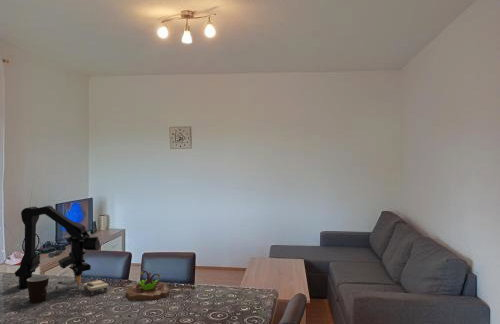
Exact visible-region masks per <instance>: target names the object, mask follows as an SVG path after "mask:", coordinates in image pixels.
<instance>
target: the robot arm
mask: <svg viewBox="0 0 500 324" xmlns="http://www.w3.org/2000/svg"><path fill="white" fill-rule="evenodd" d="M42 215H46V216H47V217H48V218H50V219H51V220H52V221H54V222H56V224H59V225H60V226H61V227H63V229H64V230H65V232H66V233H67V234H68V235H69V236H70V237H69V238H68V239H66V242H68V243H70V252H69V253H68V255H67V256H65V257H63V258H61V259H59V260H58V261H57V263H58V265H59V267H60V268H61V269H62V270H63V269H66V268H67V267H69V269H70V270H72V272H73V275H74V280H76V276H77V275H81V276H82V273H83V272H86V271H90V270H92V268H91V267H92V266H91V264H89V263H88V262H86V260H85V259H84V258H85V257H84V256H85V254H86V251H91V252H92V251H93V252H95V251H99V249H100V247H101V242H100V239H99V236H90V234H89V233H88V231H87V230H86V226H85V225H84V224H82V223H79V222H77V221H73V220H72V219H70V218H68V217H67V216H65V215H64V214H63V213H62V212H60V211H58V210H57V209H56V208H54V207H53V206H51V205H46V206H42V207H37V206H29V207H26V208H25V207H24V208H23V209H22V210H21V212H20V216H21V222H22V223H23V225H24V249H23V251H24V252H23V253H24V254H23V256H22V258H21V260H20V264H19V268H18V269H17V270H15V272H14V276H15V277H16V278H17V277H18V284H16V287H17V288H18V289H19V290H23V289H28V286H27V279H28V278H31V277H33V273H35V272H36V269H37V268H38V267H39V265H40V264H41V259H40V258H41V256H40V255H38V254H37V252H36V246H37V245H36V243H37V242H36V241H37V239H36V238H37V237H36V236H37V231H36V229H37V223H38V221H39V219H40V216H42Z"/></svg>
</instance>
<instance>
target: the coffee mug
mask: <svg viewBox="0 0 500 324" xmlns="http://www.w3.org/2000/svg"><path fill="white" fill-rule="evenodd" d="M49 279H50V276H48V275H37V276H36V275H35V276H32V277H31V278H28V279H27V286H28V288H27V290H28V292H27V293H28V298H29V304H40V303H43V302H45V301H46V300H47V296H48V295H47V293H48V287H49Z"/></svg>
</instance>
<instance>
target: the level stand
mask: <svg viewBox="0 0 500 324" xmlns="http://www.w3.org/2000/svg"><path fill="white" fill-rule="evenodd" d="M82 286H83V288H70V289H69V292H88V290H89V291H90V296H95V294H96V293H95V292H96V291H97V290H101V289H103V293H107V292H108V287H109V284H108V283H106V282H105V281H103V280H101V279H98V280H97V279H96V280H93V281H89V282H84V283H83V285H82Z"/></svg>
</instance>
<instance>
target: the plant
mask: <svg viewBox="0 0 500 324" xmlns="http://www.w3.org/2000/svg"><path fill="white" fill-rule="evenodd" d="M144 274H146V279H145V280H144V279H141V281H139V280H137V282H136V284H133V285H131V286H129V287H128V288H127V289H126V290H125V291H126V292H125V297H126V298H128V301H133V300H134V301H146V300H147V299H149V300H150V301H154V300H159V299H161V298H166V297H168V296H169V295H170V289H169V285H168V284H167V283H166V282H162V281H159V280H160V279H161V277H162V275H160V274H158V273H154V274H152V272H148V270H142V271H140V275H141V276H142V275H144ZM155 276H157V278H158V279H155V280H154V279H153V278H154V277H155ZM153 299H154V300H153ZM149 300H148V301H149Z"/></svg>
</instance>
